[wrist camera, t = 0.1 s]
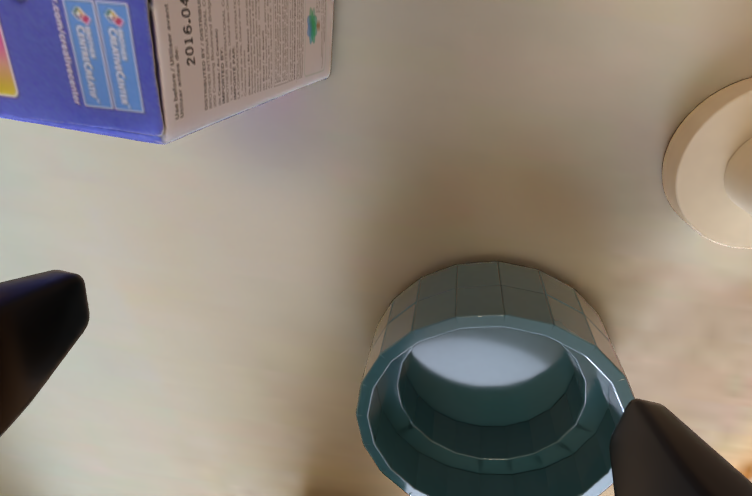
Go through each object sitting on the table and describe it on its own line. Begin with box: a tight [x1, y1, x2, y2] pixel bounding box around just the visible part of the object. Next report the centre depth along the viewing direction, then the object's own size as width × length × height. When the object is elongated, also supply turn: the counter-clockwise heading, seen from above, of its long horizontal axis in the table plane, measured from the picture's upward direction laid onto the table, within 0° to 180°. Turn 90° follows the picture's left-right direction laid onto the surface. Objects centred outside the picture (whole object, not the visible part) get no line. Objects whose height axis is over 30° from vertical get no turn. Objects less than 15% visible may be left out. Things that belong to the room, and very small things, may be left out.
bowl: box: [356, 261, 635, 496], centre depth 23 cm, size 12×12×5 cm
